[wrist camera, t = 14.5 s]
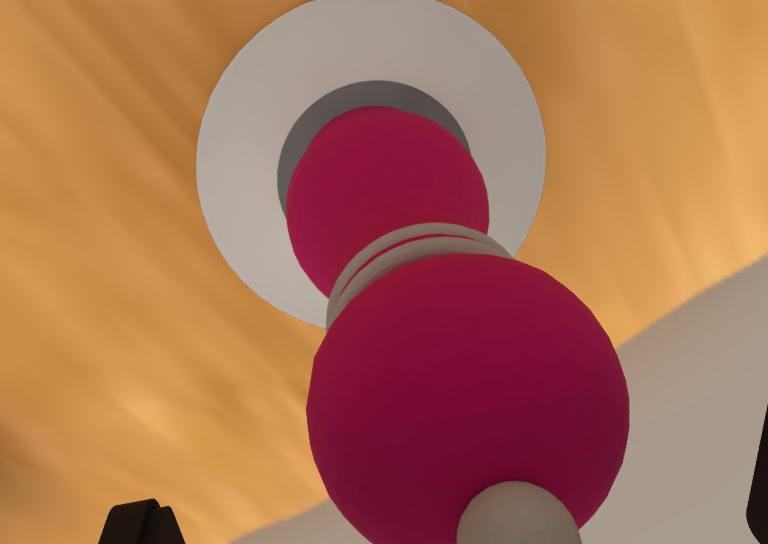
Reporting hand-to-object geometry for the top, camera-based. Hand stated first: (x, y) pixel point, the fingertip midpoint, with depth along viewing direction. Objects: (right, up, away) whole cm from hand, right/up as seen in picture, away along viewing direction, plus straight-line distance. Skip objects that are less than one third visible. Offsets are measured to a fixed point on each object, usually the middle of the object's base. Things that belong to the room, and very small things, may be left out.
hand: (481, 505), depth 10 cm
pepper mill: (-2, +8, +17) cm, 19 cm away
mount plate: (-2, +8, +18) cm, 20 cm away
